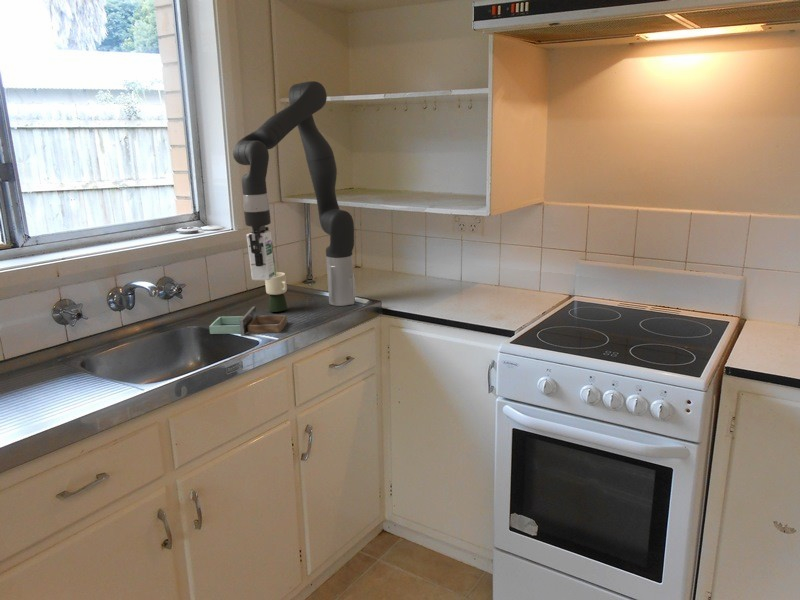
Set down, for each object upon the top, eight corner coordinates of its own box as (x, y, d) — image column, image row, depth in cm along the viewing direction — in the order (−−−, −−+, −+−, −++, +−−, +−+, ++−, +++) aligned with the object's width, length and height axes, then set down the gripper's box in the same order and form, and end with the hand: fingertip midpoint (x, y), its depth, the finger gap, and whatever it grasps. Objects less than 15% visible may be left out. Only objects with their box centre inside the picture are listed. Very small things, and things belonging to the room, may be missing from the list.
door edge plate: (257, 321, 206) (255, 306, 204) (244, 335, 191) (242, 320, 190) (254, 321, 206) (252, 306, 204) (241, 336, 191) (239, 320, 190)
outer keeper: (250, 323, 203) (249, 316, 203) (241, 333, 194) (241, 325, 193) (220, 324, 204) (219, 316, 203) (210, 333, 194) (209, 326, 194)
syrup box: (269, 280, 191) (264, 233, 187) (251, 280, 192) (245, 233, 188) (276, 276, 196) (271, 230, 192) (258, 275, 197) (253, 230, 193)
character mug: (296, 311, 215) (293, 274, 212) (280, 316, 210) (277, 278, 207) (276, 306, 222) (273, 270, 219) (260, 311, 217) (256, 274, 213)
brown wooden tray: (287, 322, 203) (286, 315, 202) (280, 332, 193) (279, 325, 193) (256, 323, 203) (255, 315, 203) (248, 333, 194) (247, 325, 193)
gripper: (263, 212, 181) (268, 268, 186) (274, 205, 195) (279, 258, 199) (237, 213, 181) (243, 269, 186) (250, 206, 195) (256, 259, 200)
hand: (262, 263), depth 193 cm, fingers closed on syrup box, 6 cm apart
